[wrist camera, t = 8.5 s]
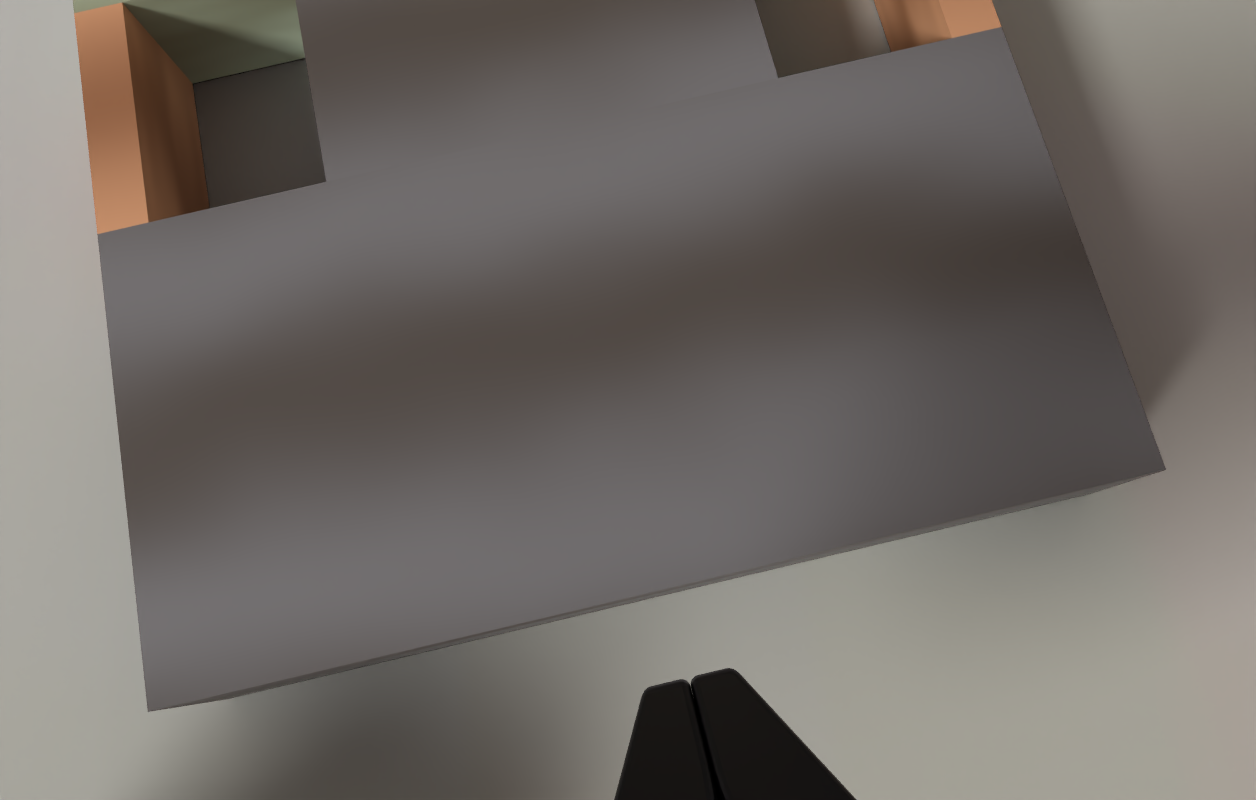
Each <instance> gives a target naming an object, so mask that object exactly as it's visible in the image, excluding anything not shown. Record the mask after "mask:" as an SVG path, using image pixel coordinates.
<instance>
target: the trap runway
mask: <svg viewBox="0 0 1256 800" xmlns="http://www.w3.org/2000/svg"><path fill="white" fill-rule="evenodd" d="M874 2H875V5H876V8H877V11H878V14H879V17H880V20H881V23H882V26H883V29H884V32H885V35H886V38H887V41H888V44H889V47H890V50H891V52H890V53H885V54H881V55H876V56H872V57H868V58H863V59H859V60H855V61H850V62H846V63H842V64H837V65H833V66H829V67H824V68H820V69H815V70H811V71H807V72H802V73H798V74H794V75H789V76H785V77H781V78H778V76H777V72H776V69H775V66H774V62H773V59H772V56H771V52H770V49H769V46H768V43H767V39H766V36H765V33H764V29H763V26H762V23H761V19H760V16H759V13H758V10H757V6H756V3H755V0H73V6H74V16H75V25H76V35H77V44H78V54H79V63H80V72H81V82H82V91H83V101H84V110H85V120H86V129H87V139H88V148H89V158H90V167H91V177H92V186H93V196H94V205H95V215H96V224H97V234H98V243H99V252H100V262H101V271H102V281H103V290H104V300H105V309H106V319H107V328H108V338H109V347H110V357H111V366H112V376H113V385H114V395H115V404H116V414H117V423H118V432H119V442H120V451H121V461H122V470H123V480H124V489H125V499H126V508H127V518H128V527H129V537H130V546H131V556H132V565H133V575H134V584H135V594H136V603H137V612H138V622H139V631H140V641H141V650H142V660H143V669H144V679H145V688H146V698H147V707H148V712H150V711H156V710H162V709H168V708H175V707H181V706H187V705H193V704H199V703H206V702H212V701H218V700H224V699H229V698H233V697H238V696H242V695H246V694H250V693H254V692H259V691H263V690H267V689H271V688H275V687H280V686H284V685H288V684H292V683H296V682H301V681H305V680H309V679H313V678H317V677H322V676H326V675H330V674H334V673H338V672H343V671H347V670H351V669H355V668H359V667H364V666H368V665H372V664H376V663H380V662H385V661H389V660H393V659H397V658H401V657H406V656H410V655H414V654H418V653H422V652H427V651H431V650H435V649H439V648H444V647H448V646H452V645H456V644H460V643H465V642H469V641H473V640H477V639H481V638H486V637H490V636H494V635H498V634H502V633H507V632H511V631H515V630H519V629H523V628H528V627H532V626H536V625H540V624H544V623H549V622H553V621H557V620H561V619H565V618H570V617H574V616H578V615H582V614H586V613H591V612H595V611H599V610H603V609H607V608H612V607H616V606H620V605H624V604H628V603H633V602H637V601H641V600H645V599H649V598H654V597H658V596H662V595H666V594H670V593H675V592H679V591H683V590H687V589H691V588H696V587H700V586H704V585H708V584H712V583H717V582H721V581H725V580H729V579H733V578H738V577H742V576H746V575H750V574H754V573H759V572H763V571H767V570H771V569H775V568H780V567H784V566H788V565H792V564H796V563H801V562H805V561H809V560H813V559H818V558H822V557H826V556H830V555H834V554H839V553H843V552H847V551H851V550H855V549H860V548H864V547H868V546H872V545H876V544H881V543H885V542H889V541H893V540H897V539H902V538H906V537H910V536H914V535H918V534H923V533H927V532H931V531H935V530H939V529H944V528H948V527H952V526H956V525H960V524H965V523H969V522H973V521H977V520H981V519H986V518H990V517H994V516H998V515H1002V514H1007V513H1011V512H1015V511H1019V510H1023V509H1028V508H1032V507H1036V506H1040V505H1044V504H1049V503H1053V502H1057V501H1061V500H1065V499H1070V498H1074V497H1078V496H1082V495H1086V494H1091V493H1094V492H1097V491H1100V490H1103V489H1107V488H1110V487H1113V486H1116V485H1119V484H1122V483H1125V482H1129V481H1132V480H1135V479H1138V478H1141V477H1144V476H1148V475H1151V474H1154V473H1157V472H1160V471H1163V470H1166V468H1165V466H1164V463H1163V460H1162V457H1161V455H1160V452H1159V449H1158V447H1157V444H1156V441H1155V439H1154V436H1153V433H1152V431H1151V428H1150V425H1149V422H1148V420H1147V417H1146V414H1145V412H1144V409H1143V406H1142V404H1141V401H1140V398H1139V396H1138V393H1137V390H1136V387H1135V385H1134V382H1133V379H1132V377H1131V374H1130V371H1129V369H1128V366H1127V363H1126V361H1125V358H1124V355H1123V352H1122V350H1121V347H1120V344H1119V342H1118V339H1117V336H1116V334H1115V331H1114V328H1113V326H1112V323H1111V320H1110V317H1109V315H1108V312H1107V309H1106V307H1105V304H1104V301H1103V299H1102V296H1101V293H1100V291H1099V288H1098V285H1097V282H1096V280H1095V277H1094V274H1093V272H1092V269H1091V266H1090V264H1089V261H1088V258H1087V256H1086V253H1085V250H1084V247H1083V245H1082V242H1081V239H1080V237H1079V234H1078V231H1077V229H1076V226H1075V223H1074V221H1073V218H1072V215H1071V212H1070V210H1069V207H1068V204H1067V202H1066V199H1065V196H1064V194H1063V191H1062V188H1061V186H1060V183H1059V180H1058V177H1057V175H1056V172H1055V169H1054V167H1053V164H1052V161H1051V159H1050V156H1049V153H1048V151H1047V148H1046V145H1045V142H1044V140H1043V137H1042V134H1041V132H1040V129H1039V126H1038V124H1037V121H1036V118H1035V116H1034V113H1033V110H1032V107H1031V105H1030V102H1029V99H1028V97H1027V94H1026V91H1025V89H1024V86H1023V83H1022V81H1021V78H1020V75H1019V72H1018V70H1017V67H1016V64H1015V62H1014V59H1013V56H1012V54H1011V51H1010V48H1009V46H1008V43H1007V40H1006V37H1005V35H1004V32H1003V29H1002V27H1001V24H1000V21H999V19H998V16H997V13H996V11H995V8H994V5H993V2H992V0H874ZM302 58H305V60H306V65H307V71H308V77H309V83H310V89H311V95H312V101H313V107H314V112H315V118H316V124H317V130H318V136H319V142H320V148H321V154H322V160H323V165H324V171H325V177H326V182H323V183H318V184H314V185H310V186H305V187H301V188H297V189H292V190H288V191H283V192H279V193H275V194H270V195H266V196H262V197H257V198H253V199H249V200H244V201H240V202H236V203H231V204H227V205H222V206H218V207H214V208H209V200H208V193H207V186H206V178H205V171H204V164H203V156H202V149H201V142H200V134H199V127H198V120H197V113H196V105H195V98H194V91H193V83H197V82H201V81H206V80H210V79H214V78H219V77H223V76H228V75H232V74H236V73H241V72H245V71H250V70H254V69H258V68H263V67H267V66H272V65H276V64H280V63H285V62H289V61H294V60H298V59H302Z"/></svg>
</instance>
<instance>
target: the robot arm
mask: <svg viewBox="0 0 1256 800" xmlns="http://www.w3.org/2000/svg"><path fill="white" fill-rule="evenodd" d="M691 689H692V690H691ZM692 693H693V694H692ZM614 800H856V799H855V798H854V796H853V795H852V794H851V793H850V792H849V791H848V790H847V789H846V788H845V787H844V786H843V785H842V784H841V782H840V781H839V780H838V779H837V778H836V777H835V776H834V775H833V774H832V773H831V772H830V771H829V770H828V768H827V767H826V766H825V765H824V764H823V763H822V762H821V761H820V760H819V759H818V758H817V757H816V755H815V754H814V753H813V752H812V751H811V750H810V749H809V748H808V747H807V746H806V745H805V744H804V743H803V741H802V740H801V739H800V738H799V737H798V736H797V735H796V734H795V733H794V732H793V731H792V730H791V728H790V727H789V726H788V725H787V724H786V723H785V722H784V721H783V720H782V719H781V718H780V717H779V716H778V714H777V713H776V712H775V711H774V710H773V709H772V708H771V707H770V706H769V705H768V704H767V703H766V701H765V700H764V699H763V698H762V697H761V696H760V695H759V694H758V693H757V692H756V691H755V690H754V689H753V687H752V686H751V685H750V684H749V683H748V682H747V681H746V680H745V679H744V678H743V677H742V676H741V675H740V674H739V673H738V672H737V671H736V670H734V669H731V668H726V669H722V670H718V671H714V672H709V673H705V674H701V675H697V676H695V677H694V678H693V679H692V681H691V686H690V684H689V683H688V682H687V681H686V680H683V679H680V680H676V681H672V682H667V683H663V684H659V685H655V686H651V687H648V688H647V689H646V690H645V691H644V693H643V695H642V697H641V701H640V705H639V709H638V712H637V716H636V720H635V724H634V727H633V731H632V735H631V739H630V742H629V746H628V750H627V754H626V758H625V761H624V765H623V769H622V773H621V776H620V780H619V784H618V788H617V792H616V795H615V799H614Z"/></svg>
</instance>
